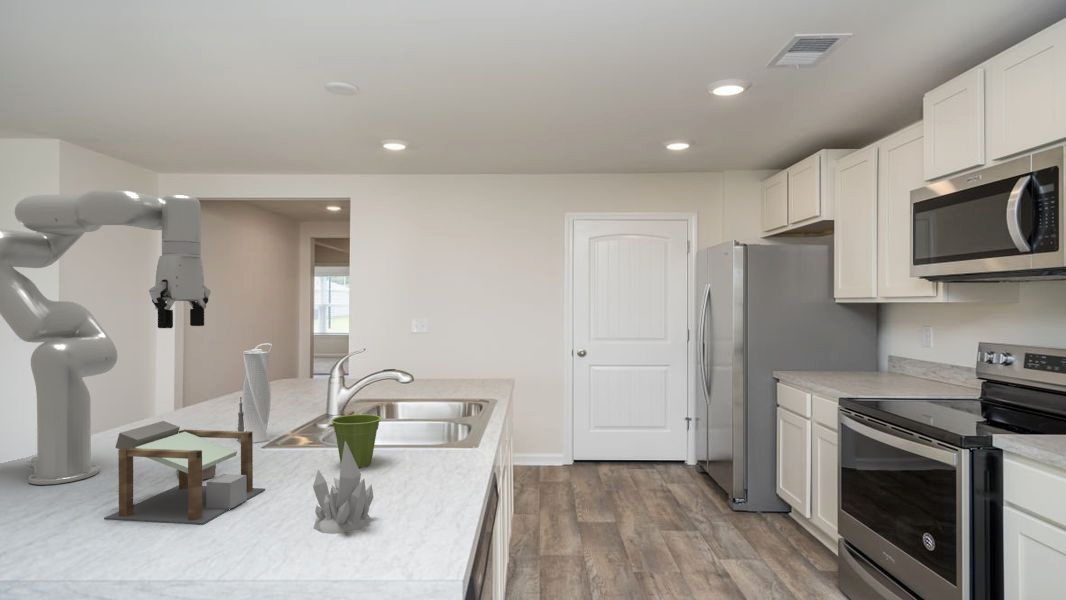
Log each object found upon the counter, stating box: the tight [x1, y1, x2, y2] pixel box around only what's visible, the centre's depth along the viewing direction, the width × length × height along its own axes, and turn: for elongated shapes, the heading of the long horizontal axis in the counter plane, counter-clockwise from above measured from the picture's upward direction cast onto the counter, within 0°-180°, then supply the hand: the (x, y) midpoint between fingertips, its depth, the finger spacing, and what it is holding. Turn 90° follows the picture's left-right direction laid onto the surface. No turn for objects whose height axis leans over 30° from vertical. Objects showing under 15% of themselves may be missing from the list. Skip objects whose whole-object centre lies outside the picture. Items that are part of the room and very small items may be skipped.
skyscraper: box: [236, 342, 273, 444], centre depth 166 cm, size 8×8×28 cm
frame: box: [117, 429, 254, 520], centre depth 115 cm, size 16×17×13 cm
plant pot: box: [330, 413, 382, 468], centre depth 142 cm, size 12×12×11 cm
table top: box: [103, 484, 266, 526], centre depth 115 cm, size 20×19×1 cm
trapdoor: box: [115, 420, 238, 473], centre depth 116 cm, size 17×13×3 cm
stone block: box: [205, 473, 248, 510], centre depth 114 cm, size 5×5×5 cm
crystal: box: [312, 441, 374, 535], centre depth 106 cm, size 10×13×15 cm
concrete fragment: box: [176, 464, 217, 481], centre depth 134 cm, size 7×14×6 cm, turn 39°
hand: (181, 327), depth 131 cm, fingers open, 9 cm apart
